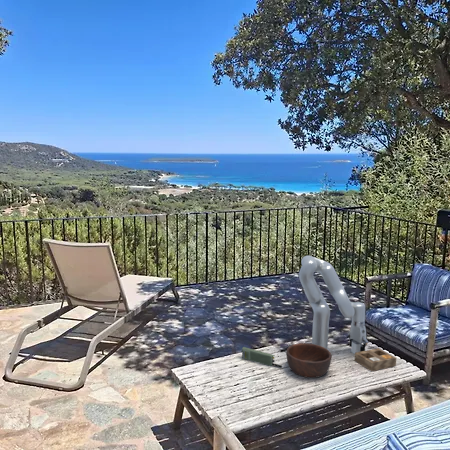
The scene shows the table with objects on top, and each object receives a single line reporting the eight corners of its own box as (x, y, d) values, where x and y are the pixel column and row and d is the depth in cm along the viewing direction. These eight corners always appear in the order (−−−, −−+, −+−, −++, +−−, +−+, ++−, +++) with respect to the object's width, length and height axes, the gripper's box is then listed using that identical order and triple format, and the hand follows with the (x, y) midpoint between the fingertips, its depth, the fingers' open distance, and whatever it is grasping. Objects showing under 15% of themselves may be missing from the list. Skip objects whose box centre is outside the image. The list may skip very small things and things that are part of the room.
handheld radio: (244, 356, 244) (282, 367, 231) (241, 358, 242) (280, 370, 229) (244, 346, 243) (282, 356, 230) (241, 348, 240) (280, 358, 228)
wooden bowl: (319, 385, 212) (320, 367, 211) (277, 371, 227) (278, 353, 226) (337, 367, 232) (338, 350, 230) (298, 355, 247) (298, 339, 245)
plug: (355, 355, 248) (356, 342, 247) (351, 352, 252) (351, 339, 251) (361, 354, 250) (361, 341, 249) (356, 351, 254) (357, 339, 253)
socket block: (371, 371, 228) (372, 362, 227) (354, 360, 241) (355, 352, 240) (395, 366, 235) (396, 357, 234) (378, 355, 248) (378, 347, 247)
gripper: (373, 326, 242) (371, 354, 244) (353, 317, 258) (352, 343, 260) (363, 328, 239) (361, 356, 241) (343, 319, 255) (342, 345, 257)
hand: (357, 349), depth 251 cm, fingers open, 9 cm apart
